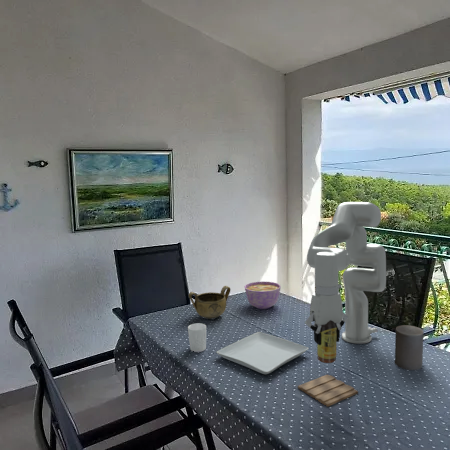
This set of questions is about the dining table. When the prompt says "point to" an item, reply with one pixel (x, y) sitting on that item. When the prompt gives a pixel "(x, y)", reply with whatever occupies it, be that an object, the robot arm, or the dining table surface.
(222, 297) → the ceramic bowl
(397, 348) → the pillar candle
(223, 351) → the square plate
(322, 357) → the sauce bottle
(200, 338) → the white cup
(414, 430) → the dining table surface
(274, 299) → the bowl of food
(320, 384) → the trivet
